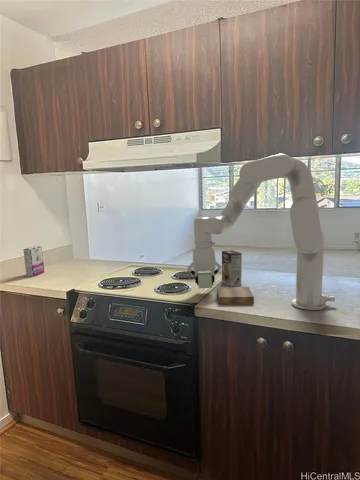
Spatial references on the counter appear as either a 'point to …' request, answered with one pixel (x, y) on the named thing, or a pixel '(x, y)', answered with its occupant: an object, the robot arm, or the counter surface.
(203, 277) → the sage block
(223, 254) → the coffee box
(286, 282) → the counter surface
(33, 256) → the candy bar box
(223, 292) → the walnut base
